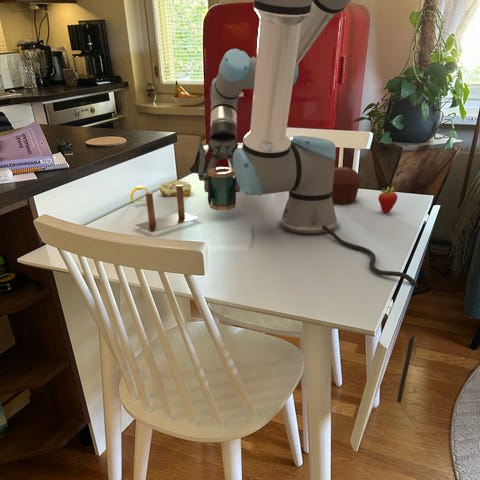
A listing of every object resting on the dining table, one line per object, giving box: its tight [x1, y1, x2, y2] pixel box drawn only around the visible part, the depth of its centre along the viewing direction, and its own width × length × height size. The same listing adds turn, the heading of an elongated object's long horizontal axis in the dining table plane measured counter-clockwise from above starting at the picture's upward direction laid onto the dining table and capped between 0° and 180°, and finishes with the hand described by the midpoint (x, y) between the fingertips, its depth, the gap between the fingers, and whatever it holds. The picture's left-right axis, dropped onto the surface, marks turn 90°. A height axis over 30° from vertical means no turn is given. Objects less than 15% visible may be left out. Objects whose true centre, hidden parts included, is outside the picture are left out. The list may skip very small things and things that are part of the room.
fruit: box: [377, 186, 398, 214], centre depth 139 cm, size 5×5×8 cm
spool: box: [208, 166, 237, 211], centre depth 132 cm, size 7×7×10 cm
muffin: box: [332, 166, 363, 206], centre depth 150 cm, size 12×11×10 cm
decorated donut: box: [159, 180, 192, 198], centre depth 161 cm, size 10×11×4 cm
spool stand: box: [135, 185, 199, 233], centre depth 132 cm, size 16×8×10 cm, turn 133°
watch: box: [130, 184, 149, 203], centre depth 150 cm, size 6×3×6 cm, turn 119°
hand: (221, 202), depth 131 cm, fingers closed on spool, 6 cm apart
